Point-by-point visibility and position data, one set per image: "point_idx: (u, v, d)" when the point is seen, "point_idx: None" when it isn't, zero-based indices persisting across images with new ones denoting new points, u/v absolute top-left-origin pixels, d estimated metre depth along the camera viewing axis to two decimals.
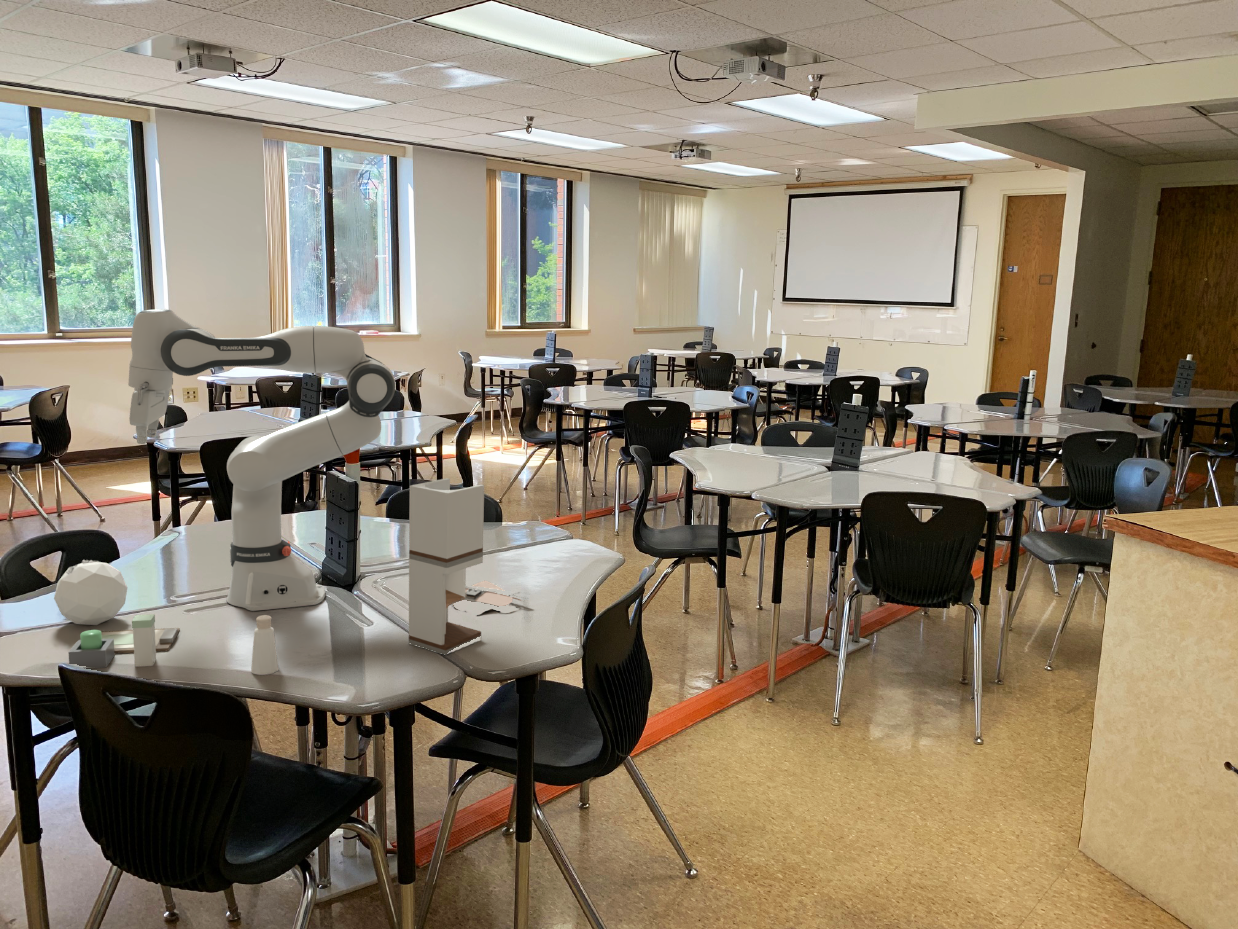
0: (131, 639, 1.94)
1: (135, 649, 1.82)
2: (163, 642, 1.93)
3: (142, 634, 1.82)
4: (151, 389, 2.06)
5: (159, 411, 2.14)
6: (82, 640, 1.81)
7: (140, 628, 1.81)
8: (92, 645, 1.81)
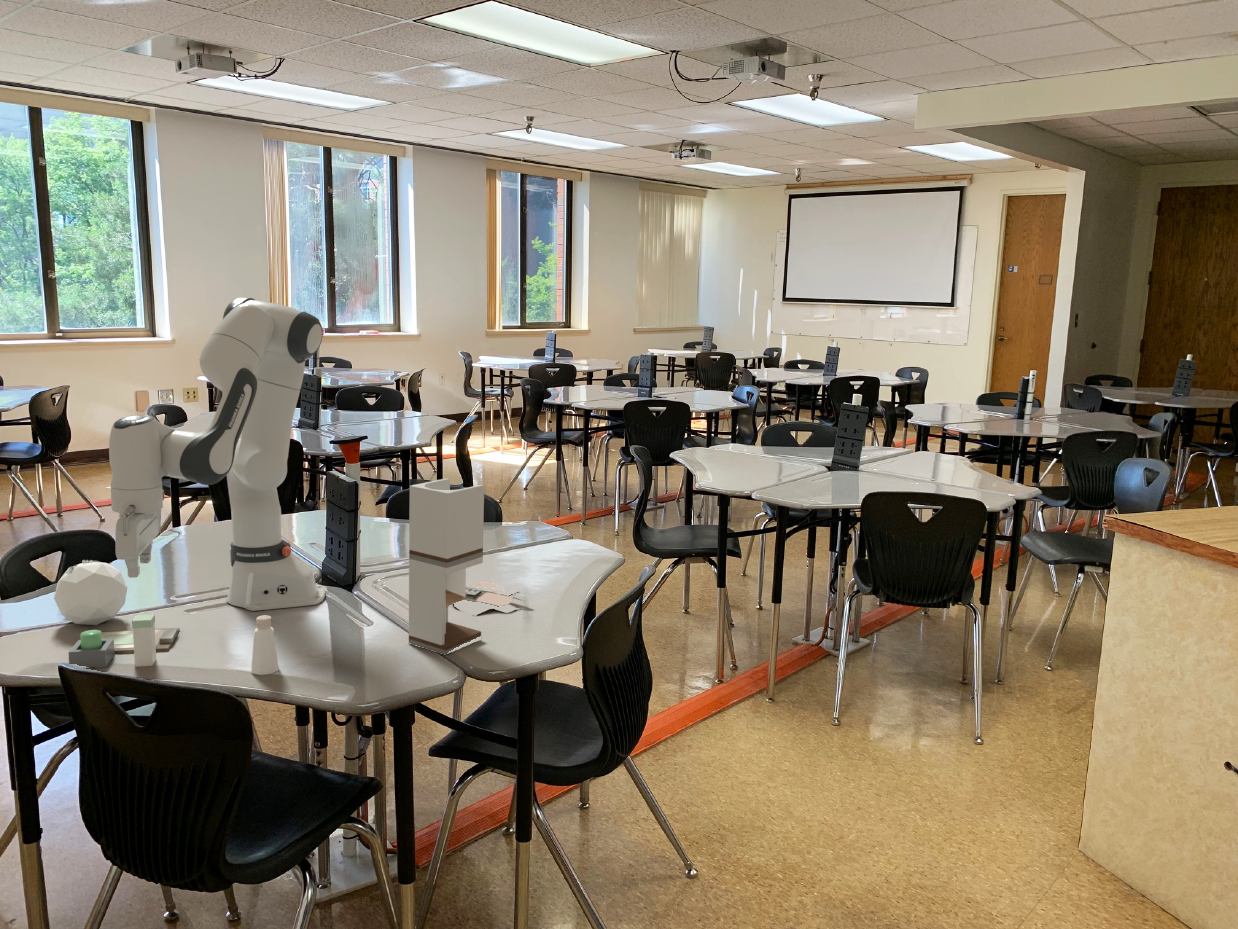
0: (131, 639, 1.94)
1: (135, 649, 1.82)
2: (163, 642, 1.93)
3: (142, 634, 1.82)
4: (138, 513, 1.75)
5: (151, 533, 1.82)
6: (82, 640, 1.81)
7: (140, 628, 1.81)
8: (92, 645, 1.81)
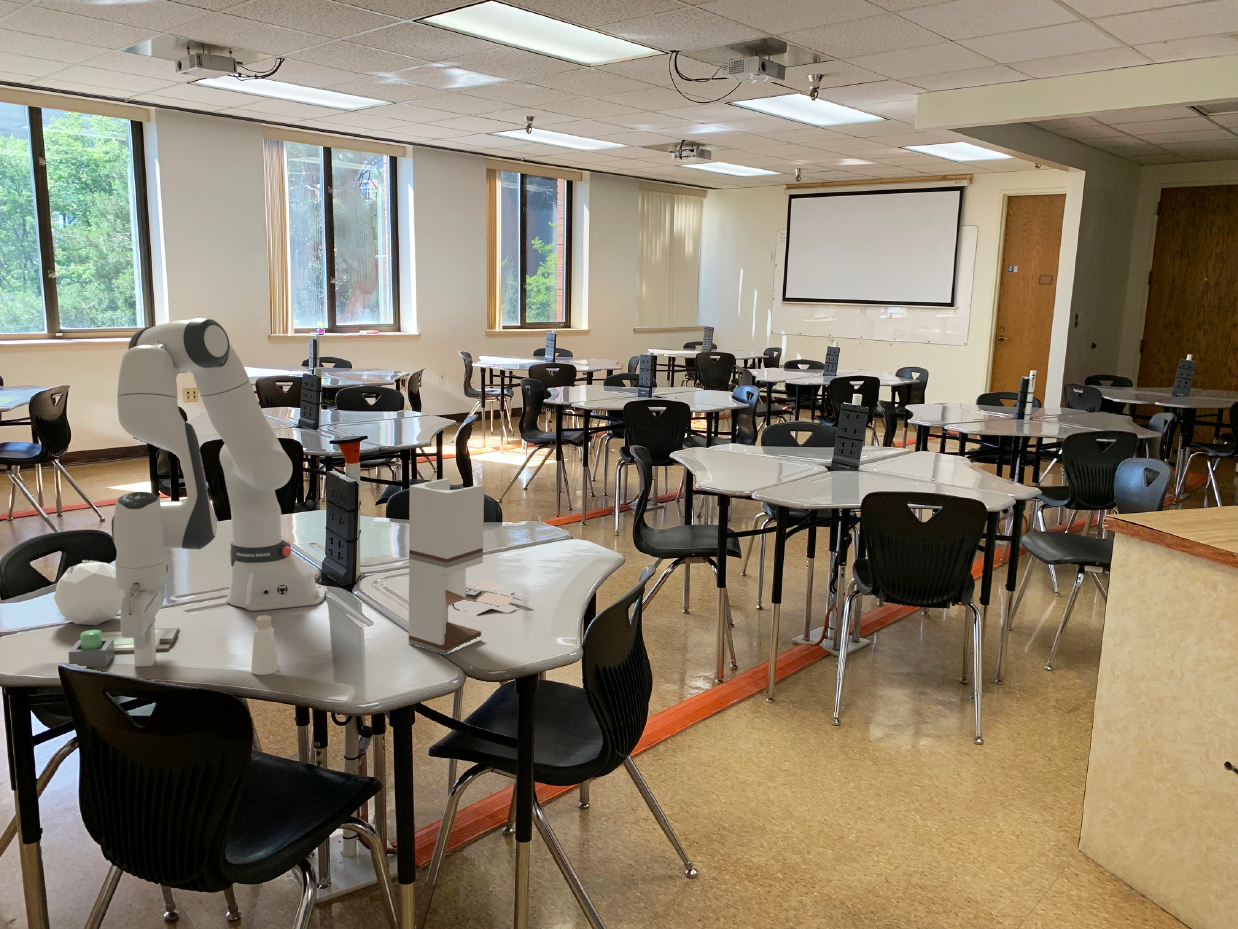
0: (131, 639, 1.94)
1: (135, 649, 1.82)
2: (163, 642, 1.93)
3: None
4: (143, 590, 1.78)
5: (155, 607, 1.85)
6: (82, 640, 1.81)
7: None
8: (92, 645, 1.81)
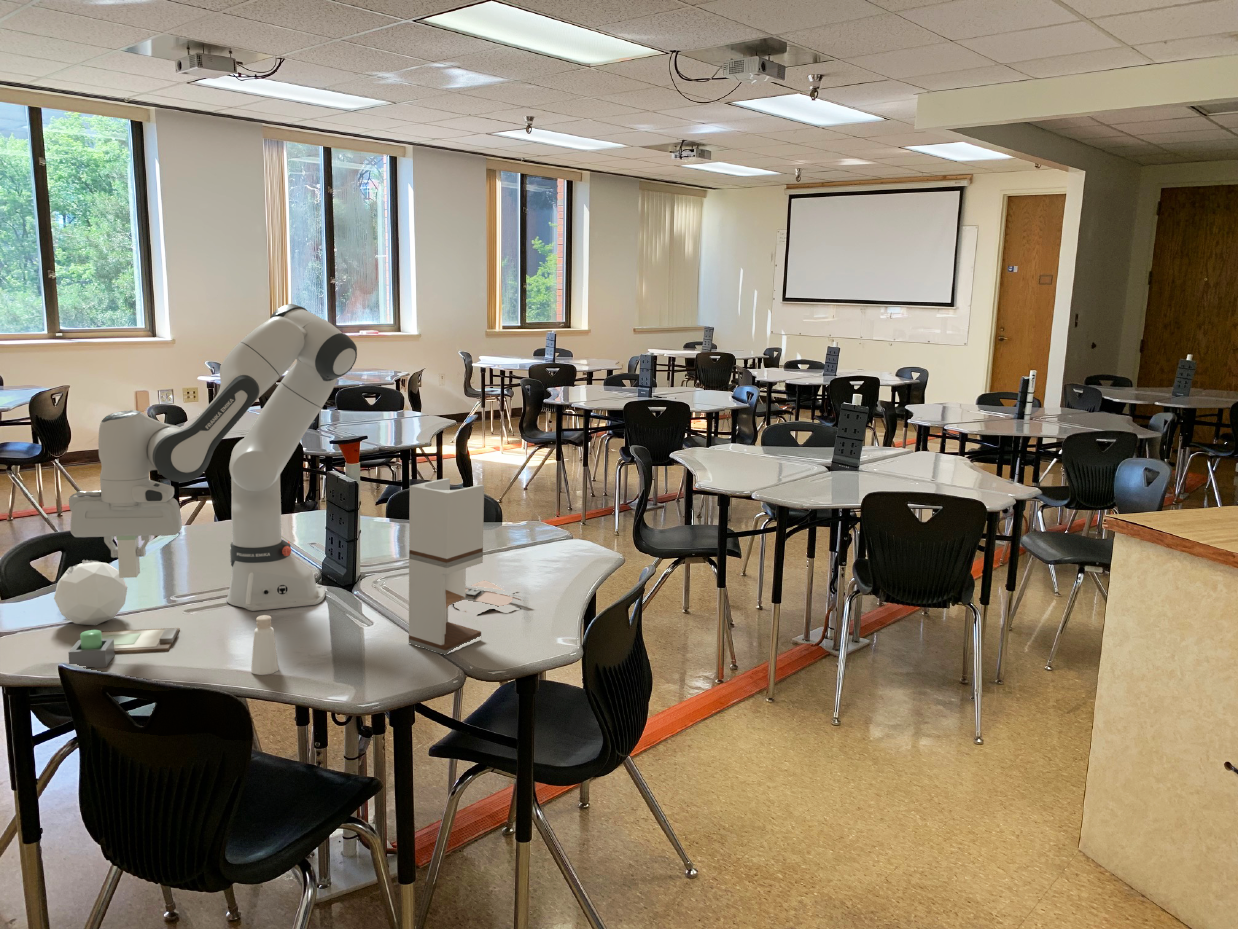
0: (131, 639, 1.94)
1: None
2: (163, 642, 1.93)
3: None
4: (101, 499, 1.87)
5: (137, 527, 1.89)
6: (82, 640, 1.81)
7: None
8: (92, 645, 1.81)
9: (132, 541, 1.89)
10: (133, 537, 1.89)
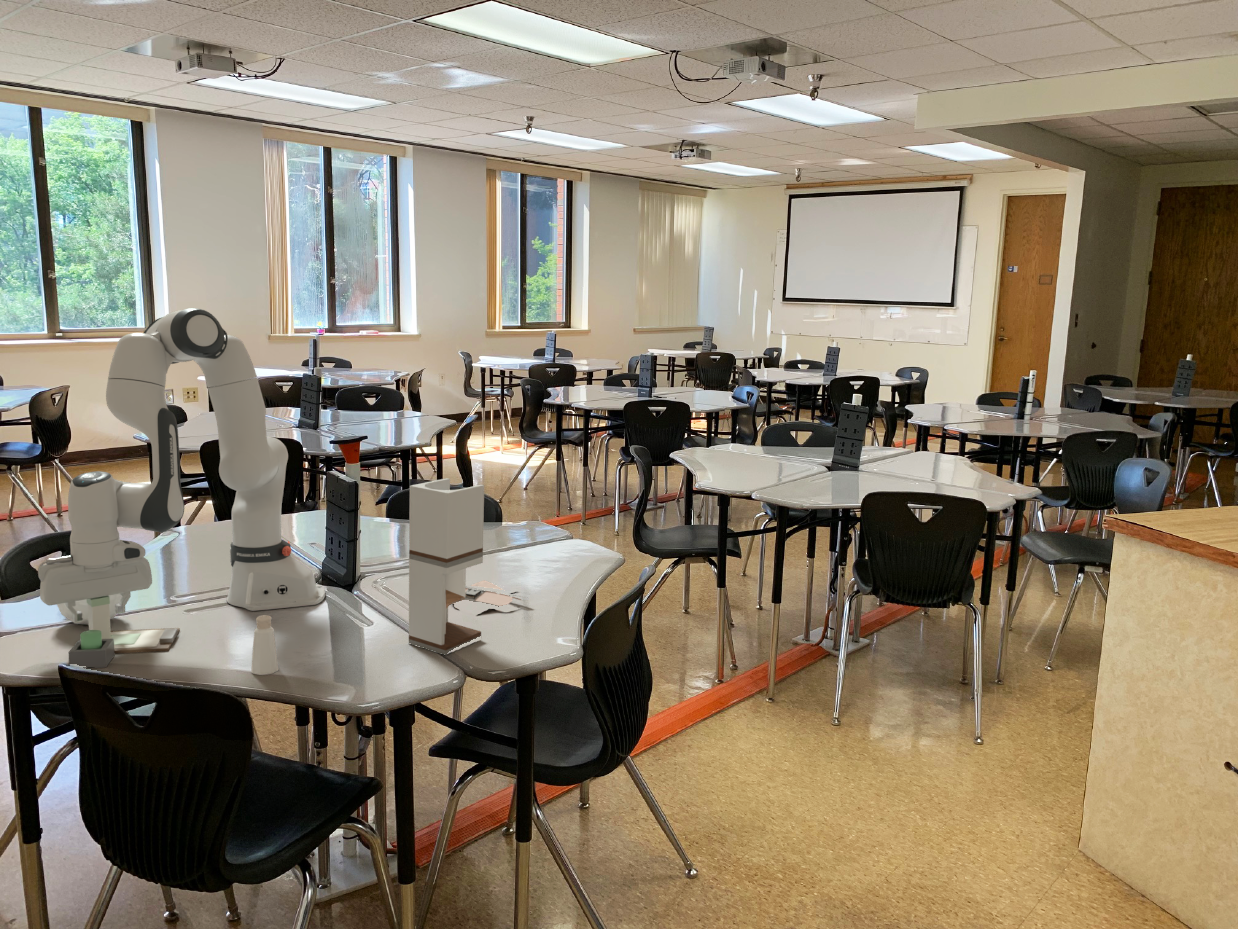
0: (131, 639, 1.94)
1: (89, 623, 1.92)
2: (163, 642, 1.93)
3: (90, 611, 1.90)
4: (74, 564, 1.86)
5: (112, 586, 1.91)
6: (82, 640, 1.81)
7: (89, 605, 1.90)
8: (92, 645, 1.81)
9: (107, 605, 1.91)
10: (108, 601, 1.91)
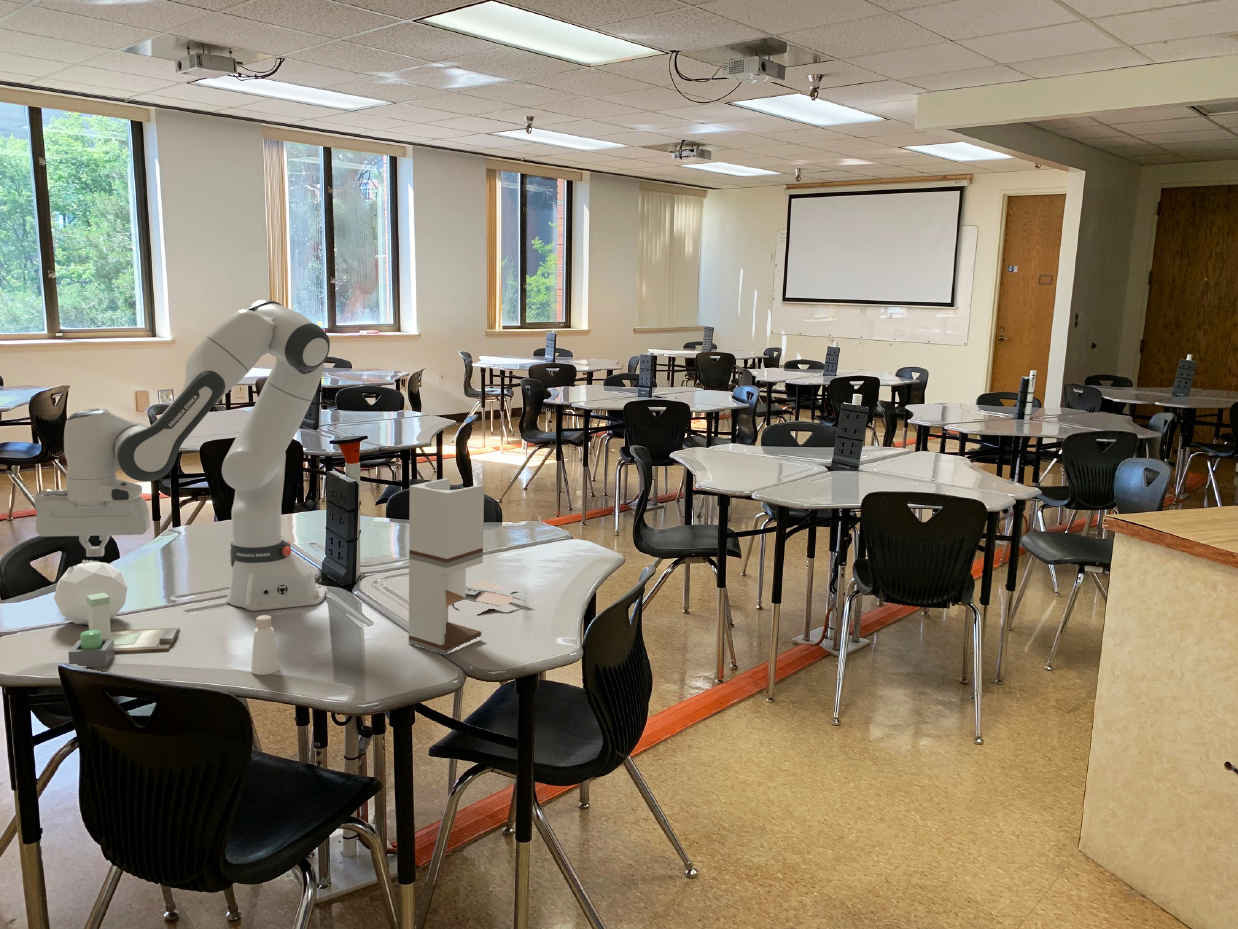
0: (131, 639, 1.94)
1: (89, 623, 1.92)
2: (163, 642, 1.93)
3: (90, 611, 1.90)
4: (67, 498, 1.85)
5: (104, 526, 1.87)
6: (82, 640, 1.81)
7: (89, 605, 1.90)
8: (92, 645, 1.81)
9: (107, 605, 1.91)
10: (108, 601, 1.91)
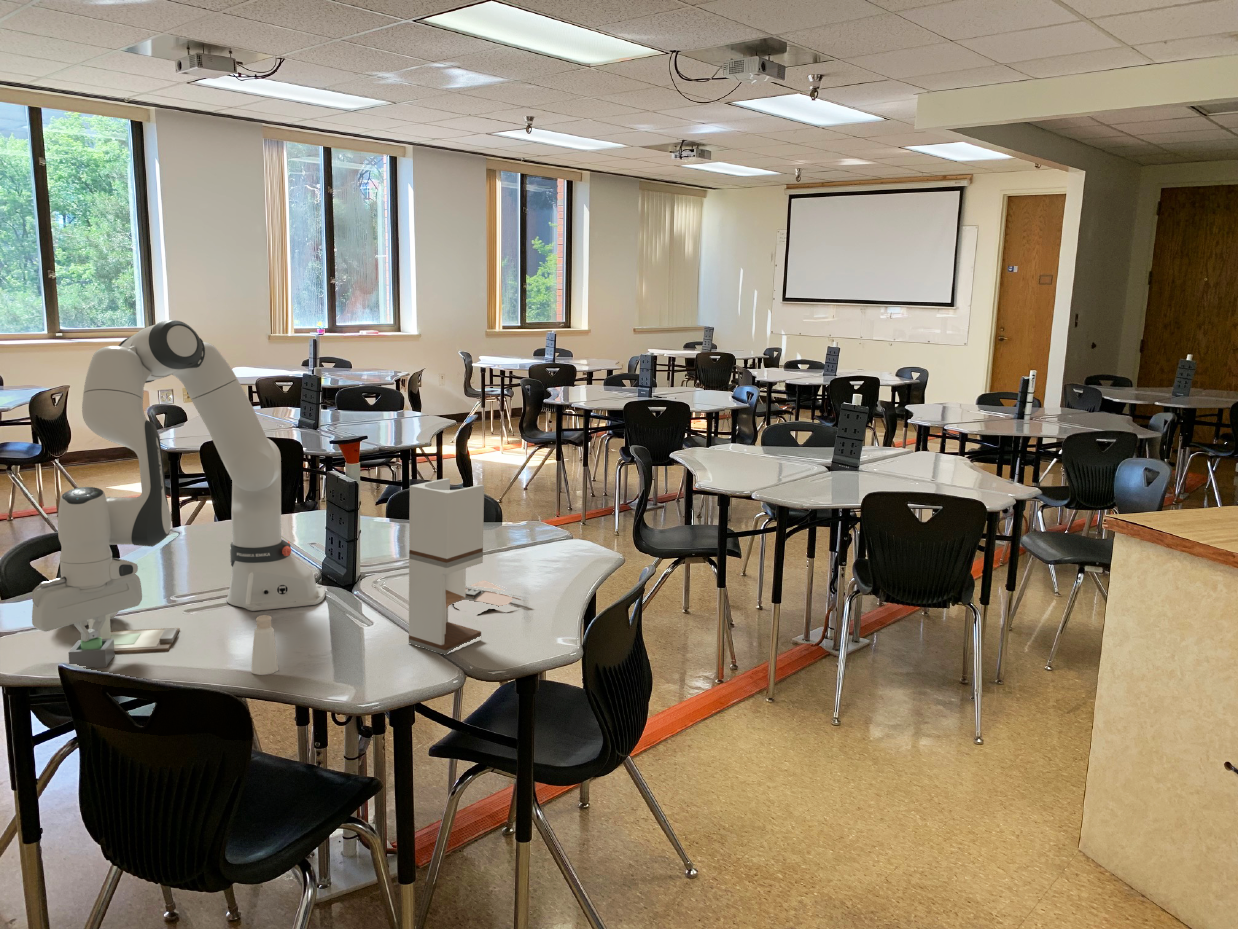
0: (131, 639, 1.94)
1: (89, 623, 1.92)
2: (163, 642, 1.93)
3: None
4: (69, 585, 1.76)
5: (106, 606, 1.83)
6: (82, 646, 1.81)
7: None
8: None
9: None
10: None
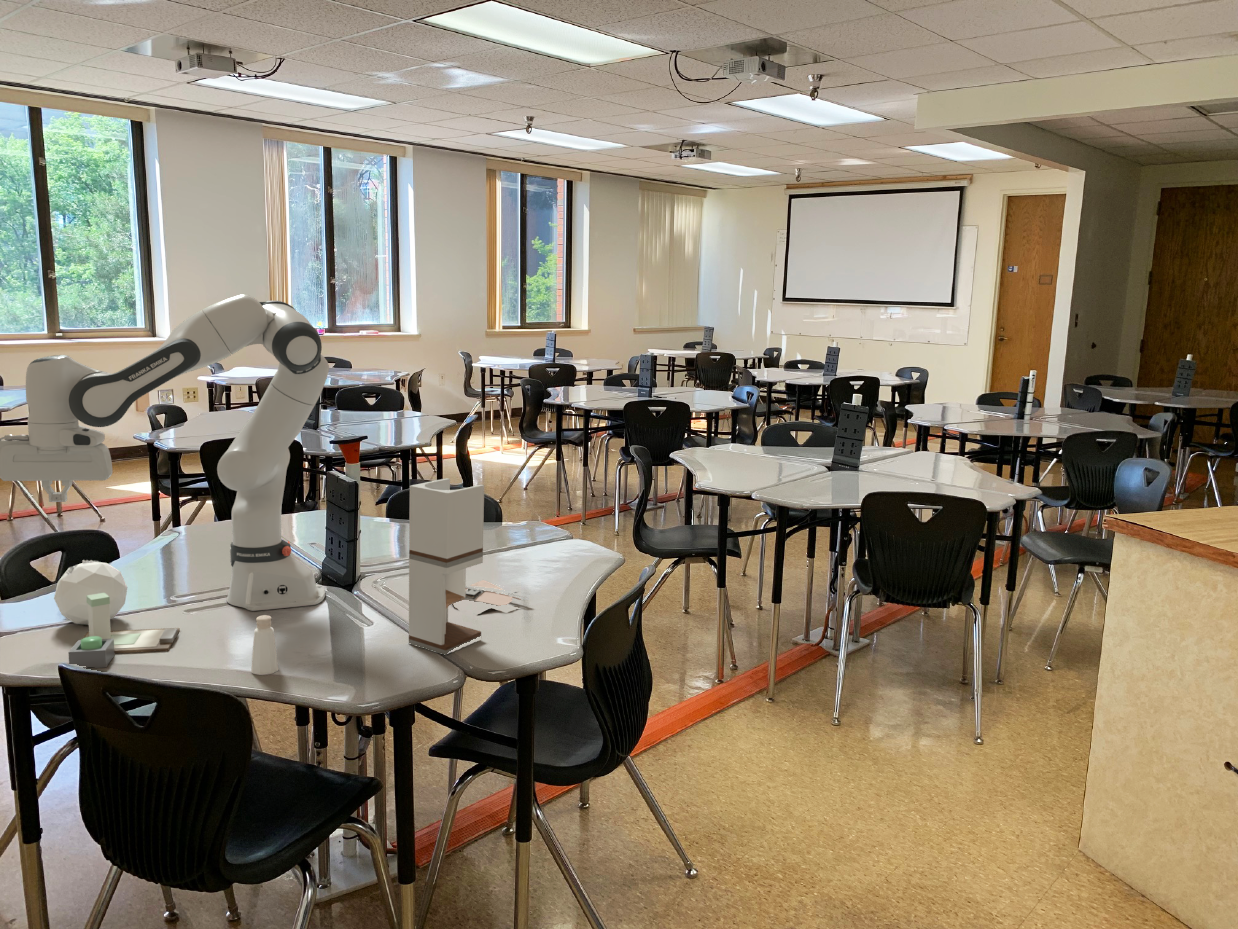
0: (131, 639, 1.94)
1: (89, 623, 1.92)
2: (163, 642, 1.93)
3: (90, 611, 1.90)
4: (29, 443, 1.87)
5: (66, 471, 1.89)
6: (82, 646, 1.81)
7: (89, 605, 1.90)
8: None
9: (107, 605, 1.91)
10: (108, 601, 1.91)
